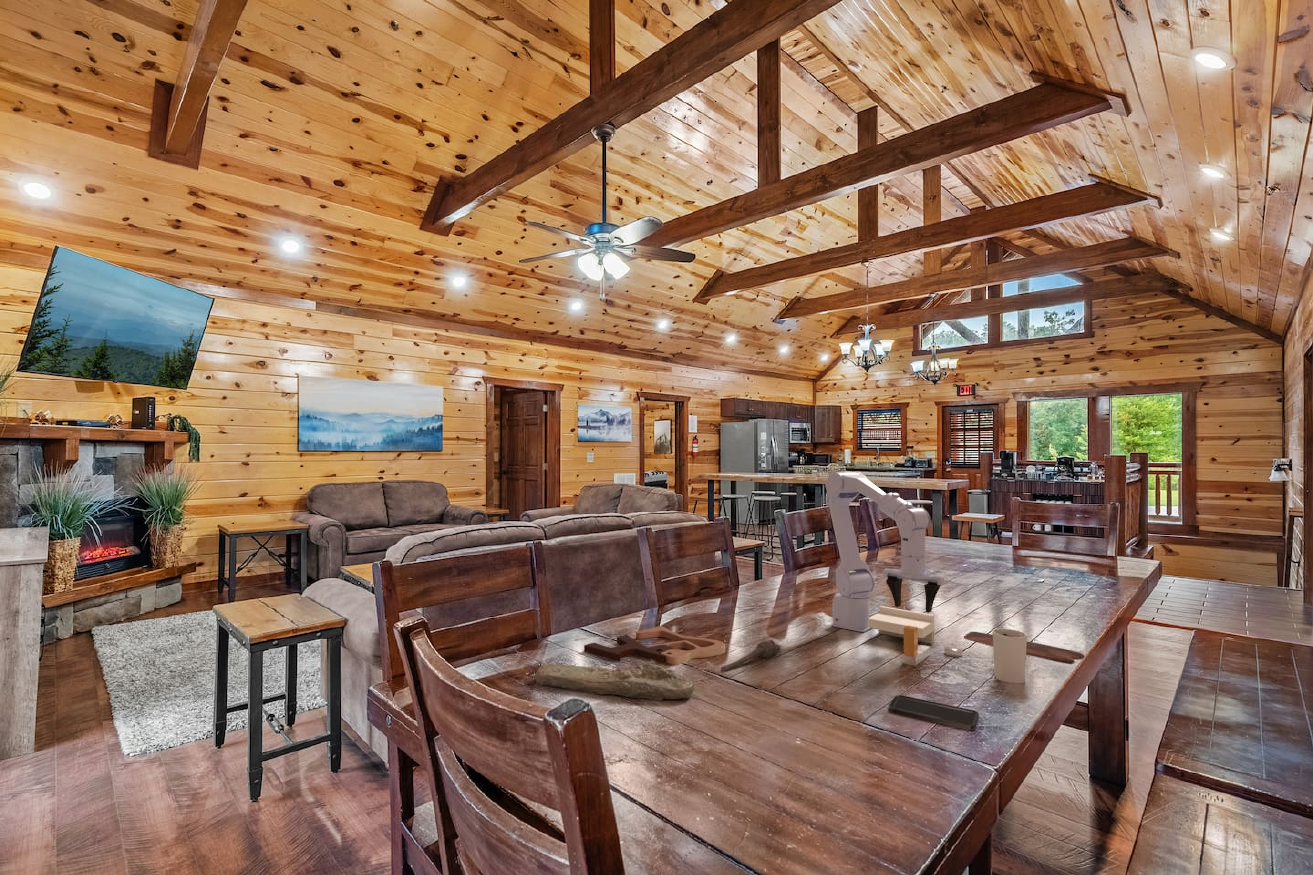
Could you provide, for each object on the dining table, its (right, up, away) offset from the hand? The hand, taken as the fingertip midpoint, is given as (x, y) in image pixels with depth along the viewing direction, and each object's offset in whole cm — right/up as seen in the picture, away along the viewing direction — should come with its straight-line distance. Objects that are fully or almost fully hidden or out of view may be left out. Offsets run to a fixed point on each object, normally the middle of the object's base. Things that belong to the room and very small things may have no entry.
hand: (913, 609), depth 157 cm
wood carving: (-65, -10, -3) cm, 66 cm away
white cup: (+13, -10, -21) cm, 26 cm away
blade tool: (-3, -10, -8) cm, 13 cm away
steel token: (+8, -10, -5) cm, 14 cm away
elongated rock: (-75, -10, -27) cm, 80 cm away
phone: (-12, -10, -39) cm, 42 cm away
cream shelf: (-1, -10, +6) cm, 12 cm away
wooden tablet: (+28, -11, +1) cm, 30 cm away
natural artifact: (-42, -10, -9) cm, 45 cm away
